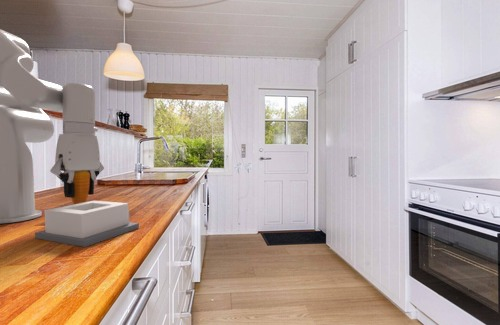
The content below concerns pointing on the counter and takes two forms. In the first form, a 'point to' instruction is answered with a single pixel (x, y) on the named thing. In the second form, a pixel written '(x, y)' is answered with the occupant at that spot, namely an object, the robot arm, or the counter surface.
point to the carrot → (81, 186)
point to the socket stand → (86, 223)
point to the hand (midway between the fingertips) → (79, 194)
